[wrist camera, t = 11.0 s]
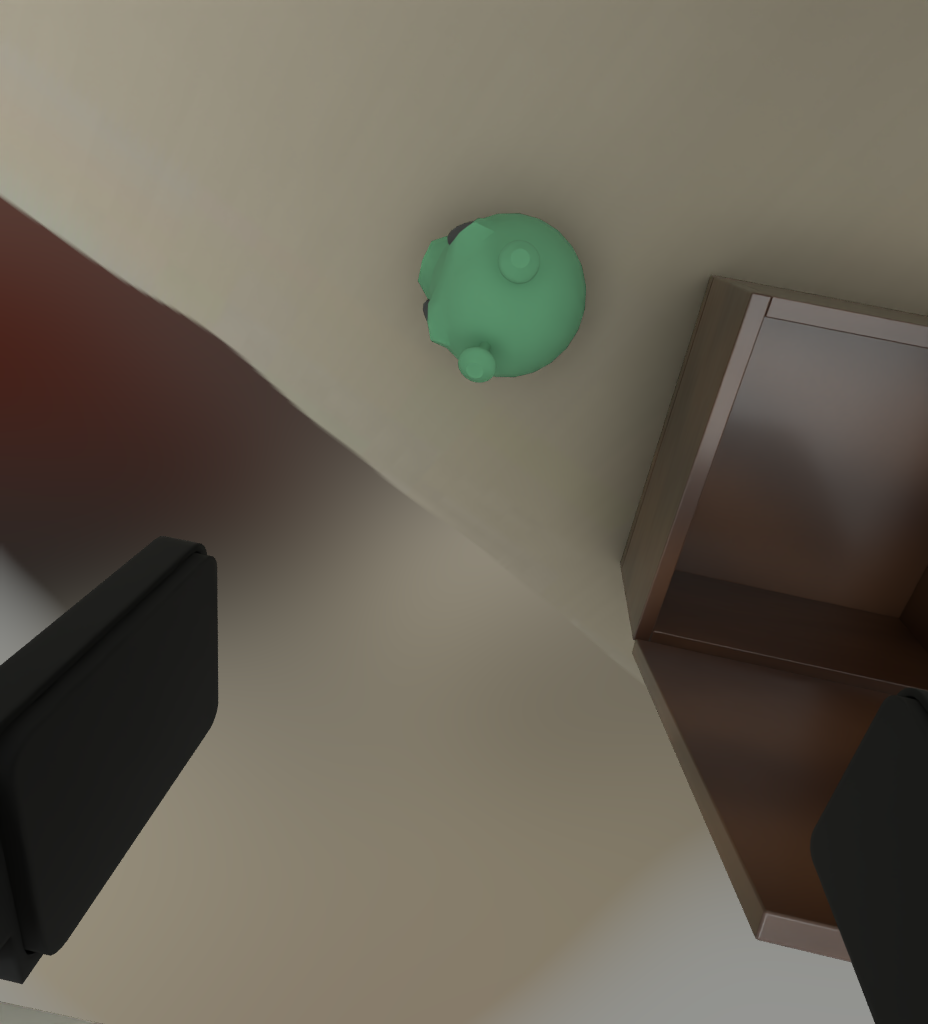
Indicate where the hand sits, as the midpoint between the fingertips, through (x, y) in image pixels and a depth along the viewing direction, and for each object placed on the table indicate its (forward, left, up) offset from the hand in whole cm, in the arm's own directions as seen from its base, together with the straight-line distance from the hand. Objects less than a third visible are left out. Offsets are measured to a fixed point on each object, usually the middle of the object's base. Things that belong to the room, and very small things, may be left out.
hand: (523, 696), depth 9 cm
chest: (+4, +15, -28) cm, 32 cm away
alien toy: (-2, -3, -29) cm, 29 cm away
